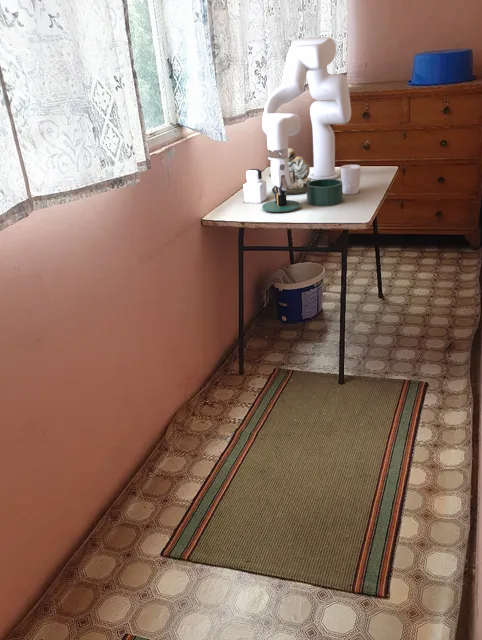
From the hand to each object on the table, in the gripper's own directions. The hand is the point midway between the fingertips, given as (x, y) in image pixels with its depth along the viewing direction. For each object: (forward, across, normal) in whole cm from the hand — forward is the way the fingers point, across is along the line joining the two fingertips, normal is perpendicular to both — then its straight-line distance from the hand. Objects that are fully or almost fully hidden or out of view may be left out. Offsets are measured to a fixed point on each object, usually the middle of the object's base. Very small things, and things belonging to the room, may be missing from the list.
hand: (281, 203), depth 231 cm
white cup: (+2, +9, -32) cm, 33 cm away
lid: (+1, 0, 0) cm, 1 cm away
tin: (+2, +1, -18) cm, 18 cm away
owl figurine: (+2, +23, -11) cm, 26 cm away
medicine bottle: (+2, +16, +6) cm, 17 cm away
